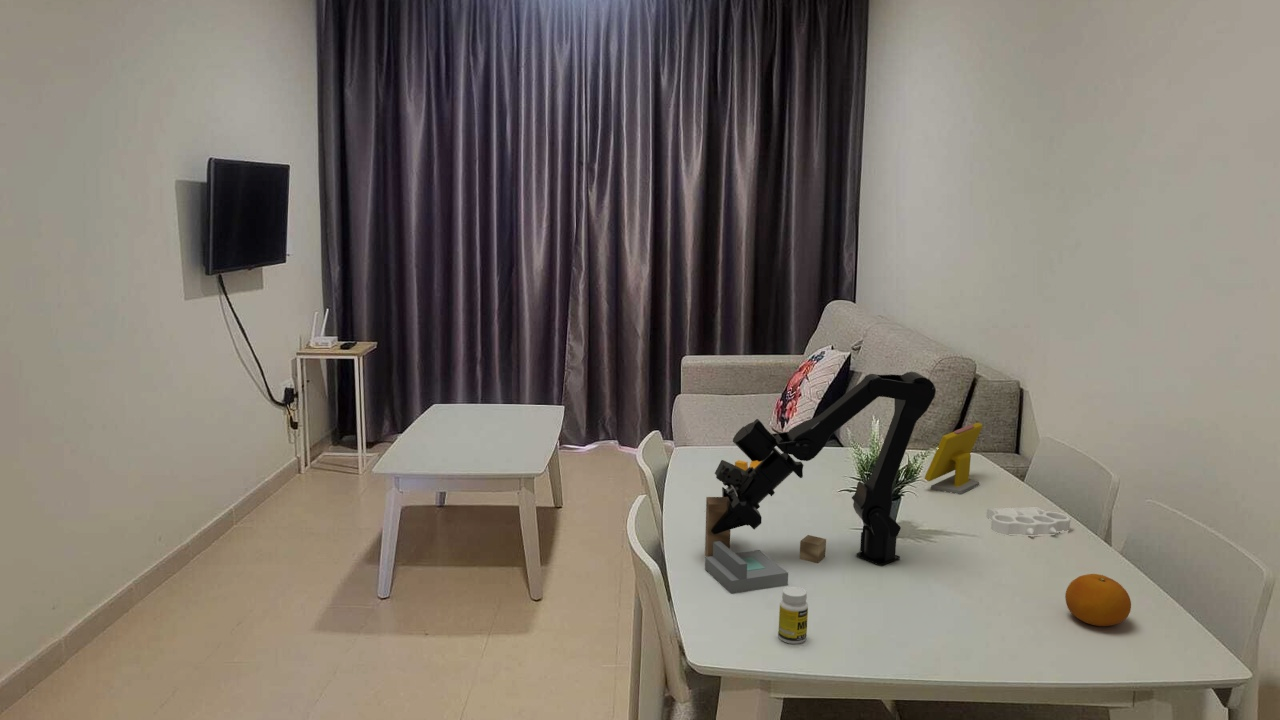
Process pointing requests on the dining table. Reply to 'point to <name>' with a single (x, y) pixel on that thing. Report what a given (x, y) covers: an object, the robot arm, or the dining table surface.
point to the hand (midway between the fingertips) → (711, 528)
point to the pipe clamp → (746, 464)
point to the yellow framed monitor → (954, 460)
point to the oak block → (812, 548)
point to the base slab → (744, 569)
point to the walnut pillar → (713, 514)
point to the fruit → (1098, 600)
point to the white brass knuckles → (1027, 521)
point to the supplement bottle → (793, 615)
